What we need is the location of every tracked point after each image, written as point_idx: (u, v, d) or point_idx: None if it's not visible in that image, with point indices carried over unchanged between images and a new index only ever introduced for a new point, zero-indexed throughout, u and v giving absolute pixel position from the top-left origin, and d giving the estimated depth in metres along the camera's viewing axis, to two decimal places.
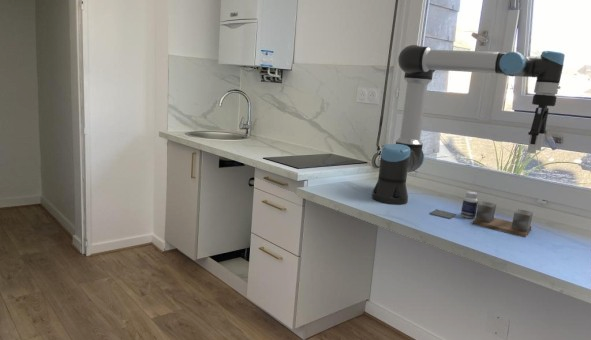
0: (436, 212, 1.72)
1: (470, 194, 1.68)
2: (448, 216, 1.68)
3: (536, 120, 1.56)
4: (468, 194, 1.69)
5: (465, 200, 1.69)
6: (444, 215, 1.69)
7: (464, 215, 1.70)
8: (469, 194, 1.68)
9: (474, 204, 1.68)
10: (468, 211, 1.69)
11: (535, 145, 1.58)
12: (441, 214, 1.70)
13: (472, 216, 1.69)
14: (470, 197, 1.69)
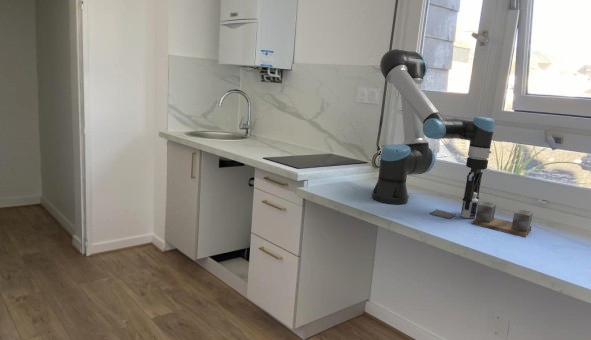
0: (436, 212, 1.72)
1: None
2: (448, 216, 1.68)
3: (468, 188, 1.64)
4: None
5: None
6: (444, 215, 1.69)
7: None
8: None
9: (474, 204, 1.68)
10: None
11: (469, 210, 1.68)
12: (441, 214, 1.70)
13: (472, 216, 1.69)
14: None
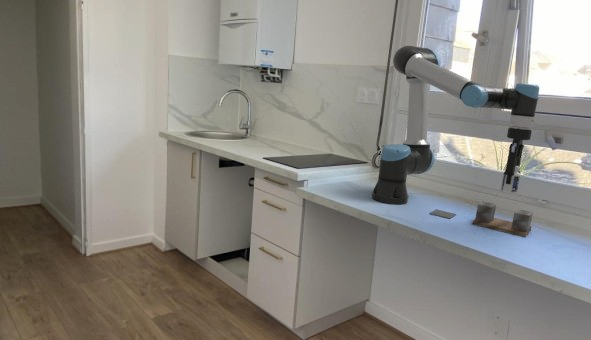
0: (436, 212, 1.72)
1: None
2: (448, 216, 1.68)
3: (510, 160, 1.52)
4: None
5: None
6: (444, 215, 1.69)
7: None
8: None
9: (516, 178, 1.55)
10: None
11: (510, 185, 1.55)
12: (441, 214, 1.70)
13: (514, 191, 1.56)
14: None
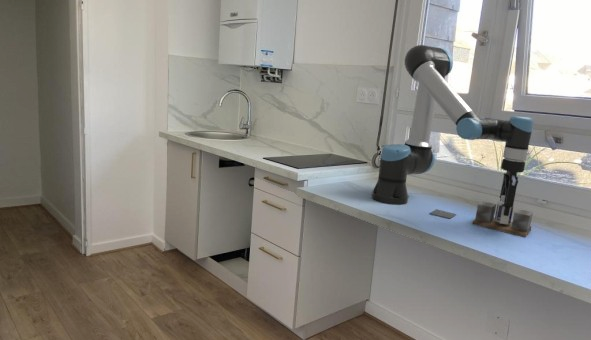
0: (436, 212, 1.72)
1: None
2: (448, 216, 1.68)
3: (511, 193, 1.53)
4: None
5: None
6: (444, 215, 1.69)
7: None
8: None
9: (511, 209, 1.58)
10: None
11: (508, 216, 1.57)
12: (441, 214, 1.70)
13: (509, 221, 1.59)
14: None
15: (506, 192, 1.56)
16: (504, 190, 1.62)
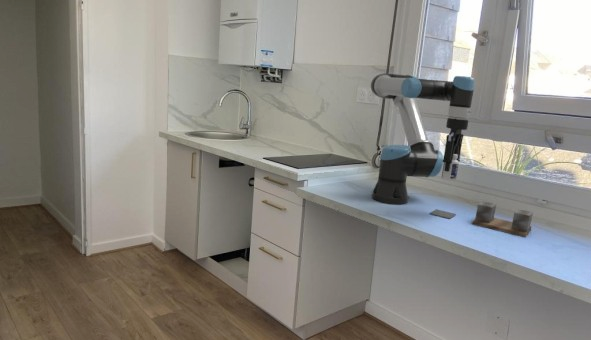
0: (436, 212, 1.72)
1: None
2: (448, 216, 1.68)
3: (447, 148, 1.61)
4: None
5: None
6: (444, 215, 1.69)
7: None
8: None
9: (454, 166, 1.65)
10: None
11: (449, 172, 1.65)
12: (441, 214, 1.70)
13: (453, 178, 1.66)
14: None
15: None
16: None
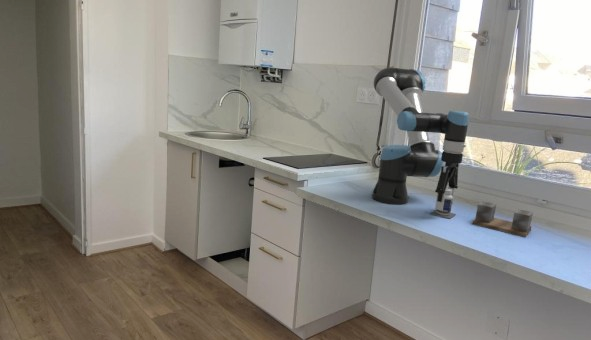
0: None
1: (445, 191, 1.68)
2: (448, 216, 1.68)
3: (441, 179, 1.62)
4: None
5: None
6: (444, 215, 1.69)
7: (439, 212, 1.70)
8: None
9: (448, 201, 1.68)
10: (443, 208, 1.68)
11: (442, 202, 1.64)
12: None
13: (447, 213, 1.69)
14: None
15: None
16: (449, 179, 1.72)
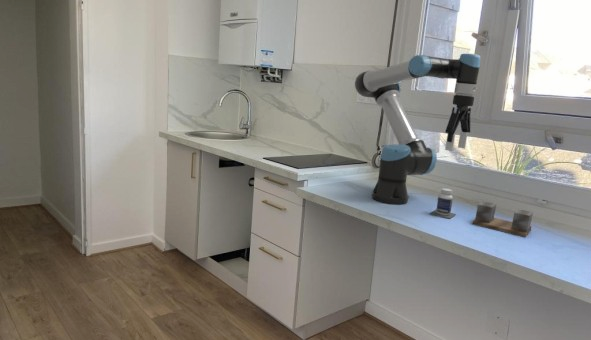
0: None
1: (445, 191, 1.68)
2: (448, 216, 1.68)
3: (452, 119, 1.65)
4: (443, 191, 1.68)
5: (440, 197, 1.69)
6: (444, 215, 1.69)
7: (439, 212, 1.70)
8: (444, 191, 1.68)
9: (448, 201, 1.68)
10: (443, 208, 1.68)
11: (452, 143, 1.67)
12: None
13: (447, 213, 1.69)
14: (444, 194, 1.68)
15: None
16: (461, 123, 1.75)
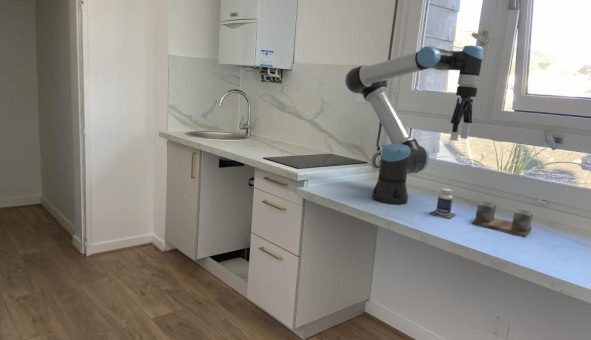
0: None
1: (445, 191, 1.68)
2: (448, 216, 1.68)
3: (457, 109, 1.68)
4: (443, 191, 1.68)
5: (440, 197, 1.69)
6: (444, 215, 1.69)
7: (439, 212, 1.70)
8: (444, 191, 1.68)
9: (448, 201, 1.68)
10: (443, 208, 1.68)
11: (457, 133, 1.70)
12: None
13: (447, 213, 1.69)
14: (444, 194, 1.68)
15: None
16: (464, 114, 1.79)
